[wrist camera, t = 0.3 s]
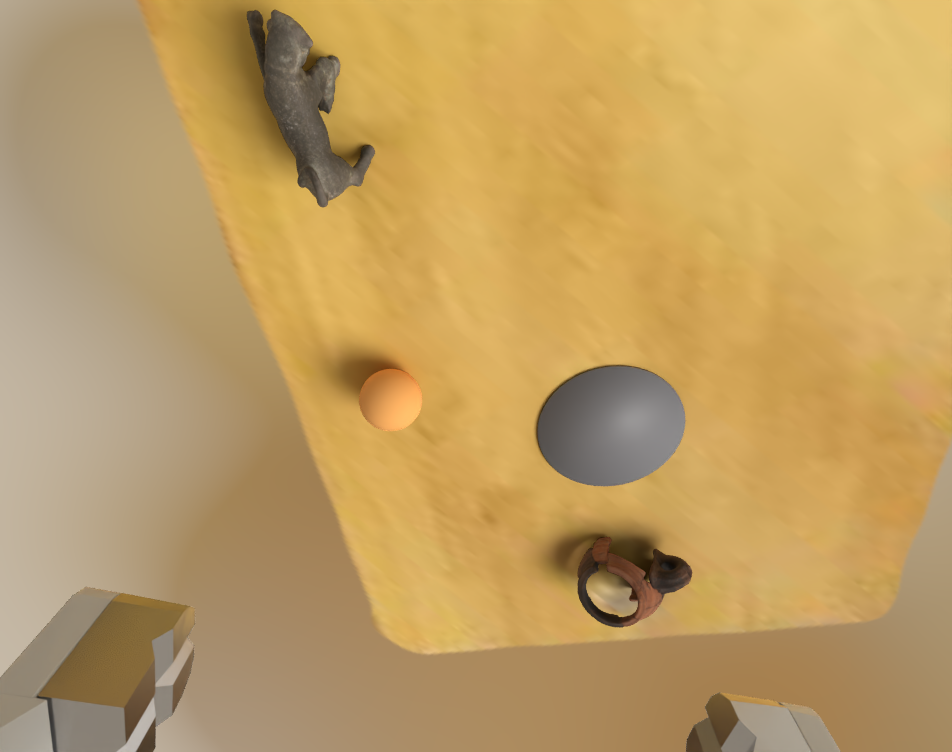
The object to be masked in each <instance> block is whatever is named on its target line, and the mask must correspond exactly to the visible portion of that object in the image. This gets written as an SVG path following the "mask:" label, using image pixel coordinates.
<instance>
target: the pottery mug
mask: <svg viewBox="0 0 952 752" xmlns="http://www.w3.org/2000/svg"><path fill="white" fill-rule="evenodd" d="M611 541H612V540H611V538H610V537H603V538H599V539H598V540H597V541H596V542H595V543H594V547H593V548H590V549H588V551H587V552H586V554H585V555H584V557H583V559H582V561H581V563H580V565H579V569H578V578H579V580H578V595H579V599H580V601H581V603H582V605H583V607H584V608H585V609H586V611H587V612H588V613H589V614H590V615H591V616H592V617H594V618H595V619H596V620H597V621H599V622H601V623H603V624H605V625H608V626H612V627H624V626H631V625H633V624H635V623H637V622H638V621H639V620H642V619H644V618H647V617H648V616H650V615H651V614H653V613H654V612H655V611H656V609H657V608H658V607H659V605H660V604H661V602H662V600H663V597H664V594H666V593H670V592H675V591H677V590H679V589H681V588H683V587H684V586H685V585H687V584H689V582H690V580H691V577H692V570H691V568H690V566H689V565H688V564H687V563H686V562H685V561H684V560H683V559H681V558H678V557H676V556H670V555H665V554H663V553H662V552H660V551H659V550H657V549H654V550H653V555H654V558H653V564H652V565H651V567H650V571H649V581H650V583H649V582H647V581H646V580H644V576H645V574H646V573H645V572H644V571H643V570H641V569H640V568H639V567H637V566H636V565H634V564H633V563H631V562H629V561H627V560H625V559H624V558H622V557H620V556H618V555H615V554H612V553H609V546H610V544H611ZM599 564H607V565H606V567H607V571H608V572H611V573H614V574H616V575H619V576H621V577H622V578H624V579H625V580H626V581H627V582H628V583H629V584H630V585H631V586H632V594H631V596H630V598H629V600H630V601H638V607H637V610H636V612H635V613H633V614H632V615H630V616H626V617H618V615H613V614H608V613H606V612H603V611H601V610H600V609H598V608H597V607H596V606H595V605H594V604H593V602H592V601H591V599H590V597H589V596H588V594H587V590H586V583H587V580H588V578H589V577H590V576H591V575H592V574H594V573H596V572H598V570H599V569H598V565H599Z"/></svg>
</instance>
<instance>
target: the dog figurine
mask: <svg viewBox="0 0 952 752" xmlns="http://www.w3.org/2000/svg"><path fill="white" fill-rule="evenodd" d="M247 20H248V23H249V28H250V34H251V37H252V40H253V43H254V46H255V49H256V54H257V58H258V62H259V66H260V69H261V72H262V75H263V78H264V94H265V98H266V100H267V103H268V105H269V107H270V109H271V111H272V113H273V115H274V116H275V118H276V120H277V122H278V125H279V128H280V130H281V133H282V135H283V137H284V139H285V141H286V143H287V145H288V146H289V148H290V149H291V151H292V153H293V154H294V156H295V158H296V166H297V172H298V175H299V177H298V185H299V186H300V187H302V188H304V187H306V188H308V189H309V190H310V192H311V193H312V194H313V195H314V196H315V197H316V199H317V203H318V205H319V206H320V207H326V206H327V205H328V200H332V199H334V198H335V197H337V196H339V195H340V194H341V193H342V192H344V190H345V189H346V188H347V187H348V186H351V185H355V186H361V184H362V182H363V179H364V175H365V173H366V171H367V169H368V167H369V165H370V163H371V159H372V158H373V156H374V154H375V150H374V148H373V147H372V146H371V145H366V146H364V147H363V148H362V150H361V155H360V159H359V160H358V162H357V163H356V165H355V166H354V167H352V166H350V165H349V164H348V163H347V162H346V161H345V160H343V159H342V158H341V157H338V156H336V155H335V154H334V153H333V152H332V151H331V147H330V142H329V137H328V132H327V129H326V126H325V124H324V121H323V119H322V117H321V115H320V113H319V111H318V107H319V110H320V111H321V110H322V111H325V112H326V113H328V114H329V113H330V111H331V108H332V104H333V102H334V92H335V79H336V77H337V76H338V75H339V72H340V62H339V60H338V58H337V57H334V56H329V57H328V58H326V57H320V58H319V59H318V60H317V61H316V64H315V65H314V66H313V67H312V68H311V69H310V70H309V71H307V72H306V71H304V70H303V69H302V66H303V65H304V64H305V62H306V58H307V56H308V55H309V52H310V48H311V47H312V46H313V42H312V40H311V38H310V37H309V35H308V34H307V33H306V31H305V30H304V29H303V28H302V27H301V26H300V25H299V24H298V23H297V22H296V21H295V20H294V19H293V18H291V17H290V16H288V15H285V14H283V13H281V12H279V11H277V10H273V11H272V12H271V19H269V20H268V21H267V29H268V31H269V32H268V36H267V41H266V45H265V32H264V30H263V28H262V26H263V17H262V15H261V14H260V12H258V11H257V10H254V11H248V12H247Z"/></svg>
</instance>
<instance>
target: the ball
mask: <svg viewBox="0 0 952 752" xmlns="http://www.w3.org/2000/svg"><path fill="white" fill-rule="evenodd" d="M359 404H360V409H361V412H362V414H363V416H364V417H365V419H366V420H367V421H368V422H369V423H370V424H371V425H373V426H374V427H376V428H378V429H381V430H385V431H396V430H400V429H403V428H405V427H407V426H408V425H410V424H411V423H412V422H413V421H414V420H415V419H416V417H417V416H418V414H419V412H420V409H421V406H422V394H421V390H420V388H419V385H418V384H417V382H416V381H415V380H414V378H413V377H411V376H410V375H409V374H407V373H406V372H404V371H401V370H398V369H385V370H381V371H378V372H376V373H374V374H373V375H371V376H370V377H369V378H368V379H367V380H366V381H365V383H364V385H363V386H362V389H361V392H360V396H359Z"/></svg>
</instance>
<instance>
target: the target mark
mask: <svg viewBox="0 0 952 752" xmlns="http://www.w3.org/2000/svg"><path fill="white" fill-rule="evenodd" d="M684 428H685V412H684V408H683V405H682V402H681V400H680V398H679V396H678V395H677V393H676V391H675V390H674V389H673V388H672V387H671V385H670V384H669V383H667V382H666V381H665V380H664V379H662V378H661V377H659V376H657V375H656V374H654V373H652V372H649V371H647V370H644V369H640V368H636V367H630V366H607V367H601V368H596V369H593V370H590V371H587V372H584V373H582V374H580V375H577V376H576V377H574V378H572V379H570V380H569V381H567V382H566V383H565V384H563V385H562V386H561V387H560V388H558V389H557V390H556V391H555V392H554V393H553V395H552V396H551V397H550V398H549V399H548V401H547V403H546V404H545V406H544V408H543V410H542V412H541V415H540V418H539V422H538V441H539V445H540V448H541V451H542V453H543V455H544V457H545V459H546V460H547V461H548V463H549V464H550V465H551V466H552V467H553V468H554V469H555V470H556V471H557V472H559V473H560V474H562V475H563V476H565V477H567V478H569V479H571V480H573V481H576V482H579V483H583V484H587V485H593V486H615V485H621V484H626V483H629V482H633V481H635V480H638V479H641V478H643V477H645V476H647V475H649V474H650V473H652V472H654V471H655V470H657V469H658V468H659V467H661V466H662V465H663V464H664V463H665V462H666V461H667V460H668V459H669V458H670V457H671V456H672V454H673V453H674V452H675V450H676V449H677V447H678V446H679V444H680V441H681V439H682V436H683V433H684Z"/></svg>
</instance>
